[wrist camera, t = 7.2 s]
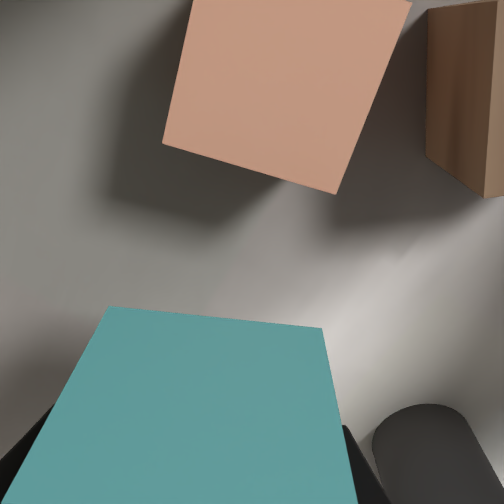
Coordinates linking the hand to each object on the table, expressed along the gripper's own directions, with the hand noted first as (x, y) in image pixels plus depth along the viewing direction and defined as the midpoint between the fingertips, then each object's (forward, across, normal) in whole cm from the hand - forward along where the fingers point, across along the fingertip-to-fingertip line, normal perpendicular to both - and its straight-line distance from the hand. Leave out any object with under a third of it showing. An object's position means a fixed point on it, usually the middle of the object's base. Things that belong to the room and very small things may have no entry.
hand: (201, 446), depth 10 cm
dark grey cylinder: (+10, -11, +10) cm, 18 cm away
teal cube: (+2, 0, 0) cm, 2 cm away
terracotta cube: (+10, -1, -8) cm, 13 cm away
